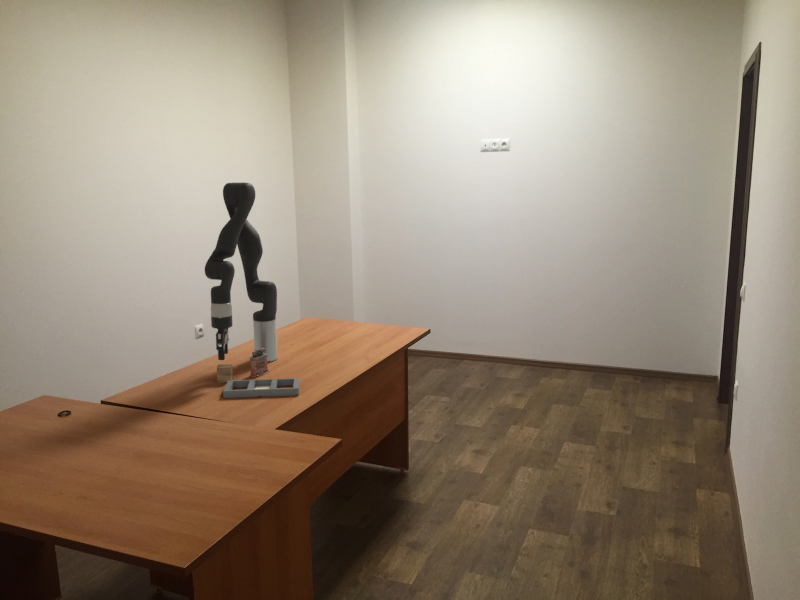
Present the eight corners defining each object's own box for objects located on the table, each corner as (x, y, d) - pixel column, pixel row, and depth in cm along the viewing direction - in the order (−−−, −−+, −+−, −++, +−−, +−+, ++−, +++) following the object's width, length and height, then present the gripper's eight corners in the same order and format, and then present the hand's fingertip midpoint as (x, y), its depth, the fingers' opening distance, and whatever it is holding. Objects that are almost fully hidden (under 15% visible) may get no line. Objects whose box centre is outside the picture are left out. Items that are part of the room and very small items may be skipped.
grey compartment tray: (228, 387, 235) (227, 380, 234) (299, 384, 238) (299, 377, 237) (223, 398, 223) (223, 391, 223) (298, 395, 226) (298, 388, 226)
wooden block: (219, 379, 243) (218, 364, 242) (232, 379, 244) (232, 364, 242) (217, 383, 239) (216, 367, 238) (231, 382, 240) (230, 367, 238)
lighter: (254, 377, 245) (253, 352, 243) (248, 375, 247) (247, 350, 245) (270, 372, 252) (269, 347, 250) (264, 370, 254) (263, 346, 252)
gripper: (214, 310, 243) (216, 352, 246) (207, 318, 229) (209, 362, 232) (234, 310, 244) (236, 351, 247) (229, 318, 230) (231, 361, 233)
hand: (223, 356), depth 239 cm, fingers open, 8 cm apart
